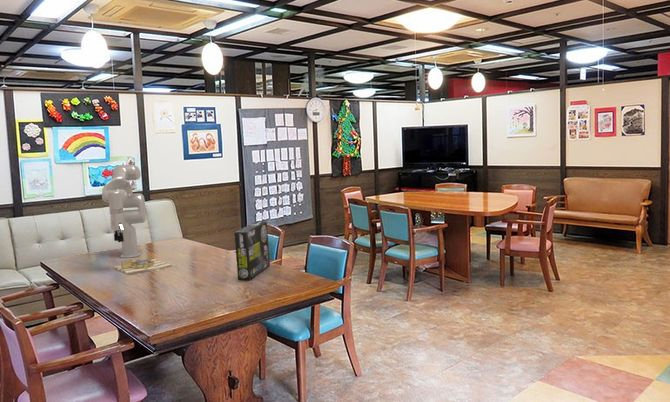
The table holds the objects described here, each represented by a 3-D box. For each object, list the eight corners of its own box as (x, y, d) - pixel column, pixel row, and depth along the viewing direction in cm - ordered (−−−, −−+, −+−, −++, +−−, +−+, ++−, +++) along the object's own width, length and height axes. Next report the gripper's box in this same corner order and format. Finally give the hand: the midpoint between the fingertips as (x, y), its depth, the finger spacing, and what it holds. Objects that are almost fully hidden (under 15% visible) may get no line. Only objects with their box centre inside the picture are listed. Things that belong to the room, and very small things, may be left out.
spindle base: (113, 268, 324) (112, 262, 324) (154, 260, 341) (154, 255, 341) (128, 275, 305) (128, 268, 304) (171, 266, 322) (171, 260, 321)
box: (250, 280, 280) (247, 231, 278) (237, 280, 282) (233, 231, 279) (270, 266, 313) (267, 221, 310) (258, 265, 315) (255, 221, 312)
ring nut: (118, 267, 320) (117, 259, 320) (149, 261, 333) (148, 254, 332) (126, 270, 310) (125, 262, 309) (158, 264, 322) (157, 257, 322)
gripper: (105, 211, 321) (107, 240, 323) (115, 213, 308) (117, 243, 310) (117, 209, 326) (120, 238, 328) (127, 211, 313) (130, 241, 315)
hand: (119, 240), depth 319 cm, fingers open, 5 cm apart
